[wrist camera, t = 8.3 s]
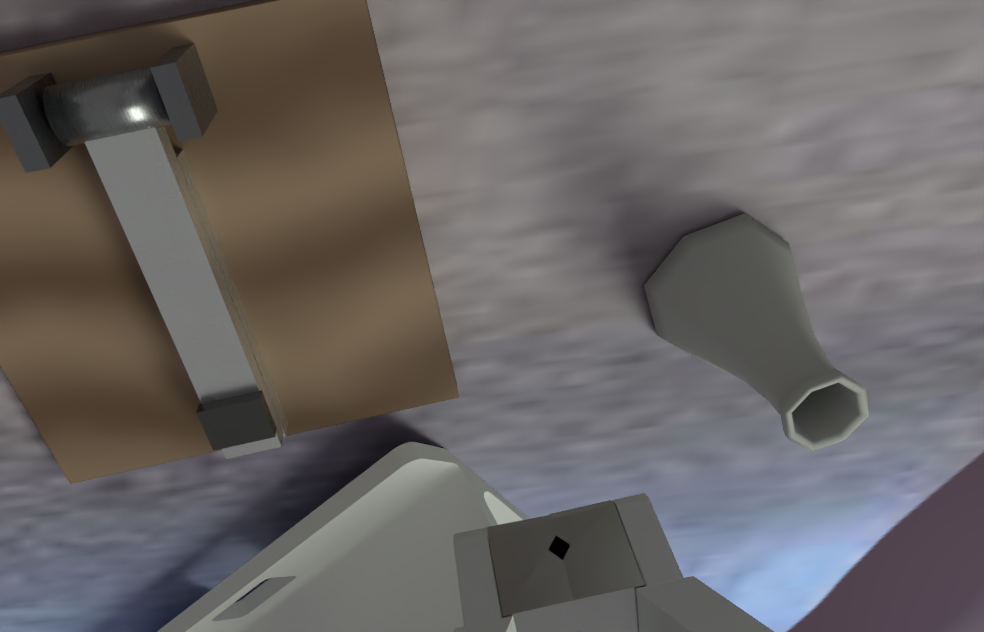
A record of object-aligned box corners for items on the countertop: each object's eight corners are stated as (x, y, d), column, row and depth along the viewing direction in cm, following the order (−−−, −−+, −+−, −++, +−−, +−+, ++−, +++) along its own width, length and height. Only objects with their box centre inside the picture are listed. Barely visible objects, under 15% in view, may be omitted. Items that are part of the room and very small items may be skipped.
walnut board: (-145, 81, 27) (-165, 89, 26) (361, -21, 28) (361, -17, 27) (78, 466, 37) (70, 483, 36) (456, 382, 37) (458, 397, 36)
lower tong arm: (27, 76, 27) (-11, 100, 24) (194, 43, 27) (175, 62, 25) (198, 442, 35) (184, 490, 33) (324, 414, 36) (321, 459, 33)
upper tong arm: (56, 80, 27) (34, 94, 25) (161, 58, 27) (147, 72, 25) (217, 440, 35) (209, 471, 33) (297, 422, 35) (294, 452, 33)
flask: (615, 281, 36) (694, 411, 27) (750, 183, 34) (878, 288, 26) (692, 378, 39) (783, 521, 31) (818, 292, 38) (952, 418, 29)
